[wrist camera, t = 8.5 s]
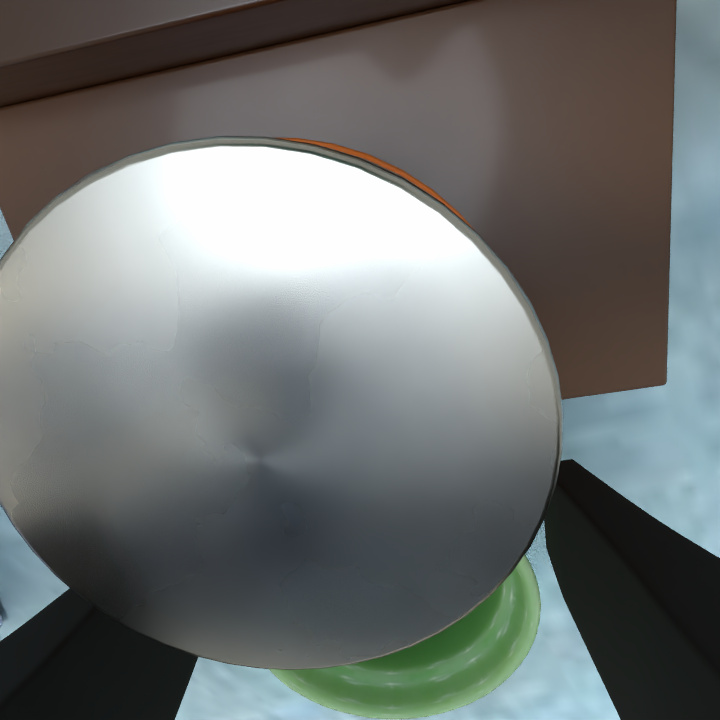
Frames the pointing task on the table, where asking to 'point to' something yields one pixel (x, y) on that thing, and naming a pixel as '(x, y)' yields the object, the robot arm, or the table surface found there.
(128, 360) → the tin can
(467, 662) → the ramekin
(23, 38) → the shelf
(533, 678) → the table surface
